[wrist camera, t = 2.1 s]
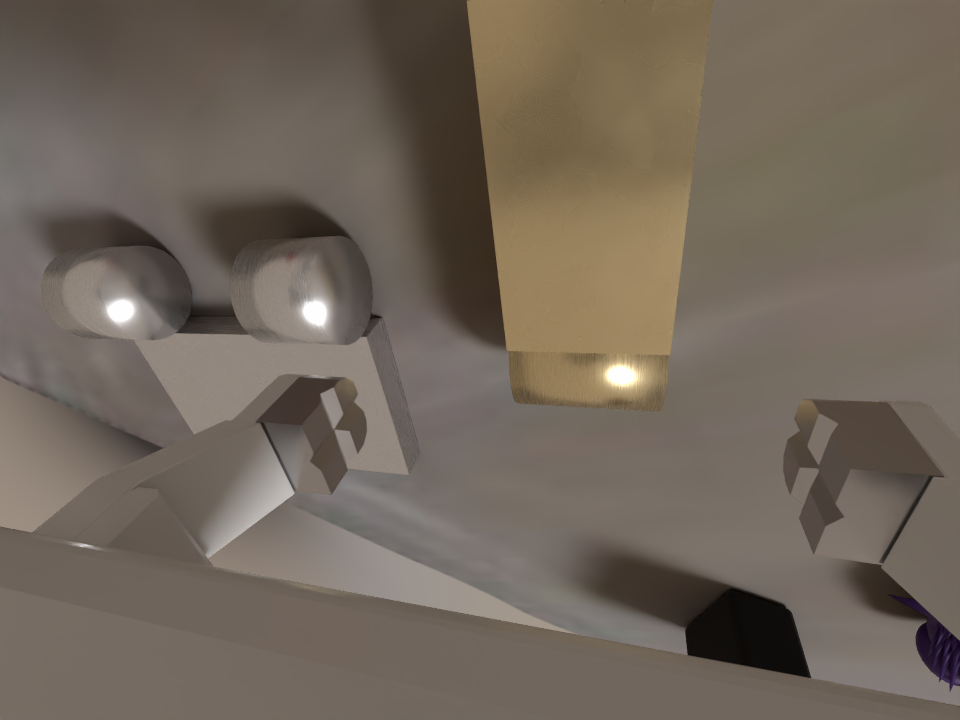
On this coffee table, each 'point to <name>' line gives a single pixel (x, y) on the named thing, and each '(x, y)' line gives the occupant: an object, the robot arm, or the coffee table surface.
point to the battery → (748, 635)
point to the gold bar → (589, 187)
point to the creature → (936, 646)
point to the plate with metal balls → (245, 330)
